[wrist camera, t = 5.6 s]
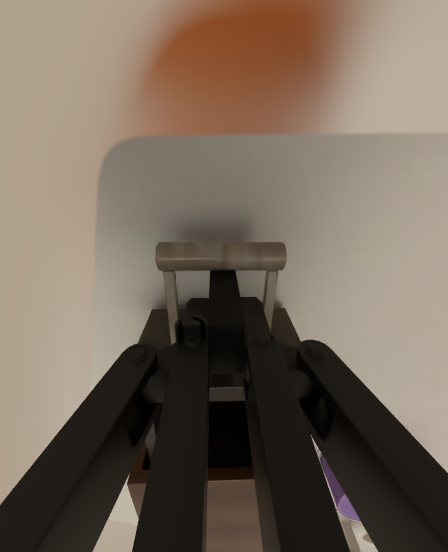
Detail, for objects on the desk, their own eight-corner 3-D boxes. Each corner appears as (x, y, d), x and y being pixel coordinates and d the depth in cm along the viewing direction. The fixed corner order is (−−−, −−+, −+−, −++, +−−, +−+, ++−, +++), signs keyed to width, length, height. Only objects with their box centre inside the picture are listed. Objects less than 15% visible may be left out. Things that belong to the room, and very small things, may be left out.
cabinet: (157, 369, 24) (126, 484, 16) (278, 367, 25) (312, 477, 16) (170, 449, 31) (152, 562, 22) (265, 446, 31) (284, 555, 23)
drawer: (139, 222, 17) (85, 268, 10) (298, 223, 17) (355, 268, 10) (166, 410, 26) (149, 503, 19) (269, 408, 26) (289, 498, 19)
